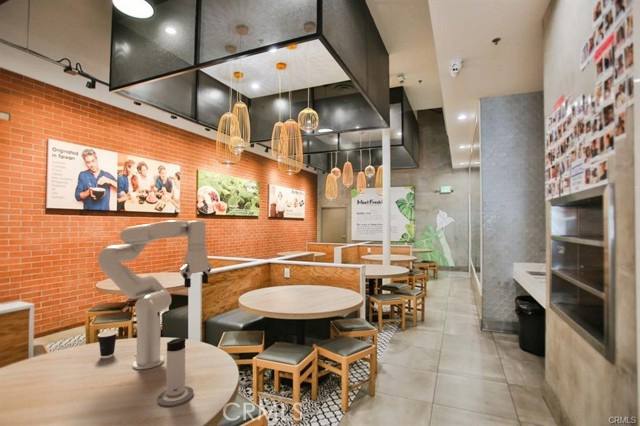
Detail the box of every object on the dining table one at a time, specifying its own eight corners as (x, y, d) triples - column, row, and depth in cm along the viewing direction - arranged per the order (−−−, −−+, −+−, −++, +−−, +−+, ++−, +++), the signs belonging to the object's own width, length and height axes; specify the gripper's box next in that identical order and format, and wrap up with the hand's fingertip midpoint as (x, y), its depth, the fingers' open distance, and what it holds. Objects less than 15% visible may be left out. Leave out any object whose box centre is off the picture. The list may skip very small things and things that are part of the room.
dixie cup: (93, 360, 146) (94, 336, 147) (102, 353, 154) (102, 331, 155) (112, 358, 148) (112, 335, 148) (120, 352, 156) (120, 330, 156)
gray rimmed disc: (150, 401, 112) (150, 398, 112) (178, 385, 122) (179, 383, 122) (172, 410, 106) (172, 407, 106) (200, 393, 117) (200, 390, 117)
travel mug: (178, 399, 111) (179, 342, 112) (162, 397, 112) (163, 341, 113) (189, 390, 117) (189, 336, 118) (173, 388, 118) (174, 335, 119)
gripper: (205, 246, 151) (205, 281, 150) (174, 248, 135) (174, 288, 135) (217, 246, 147) (217, 282, 146) (186, 249, 132) (186, 289, 131)
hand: (196, 285), depth 141 cm, fingers open, 9 cm apart
